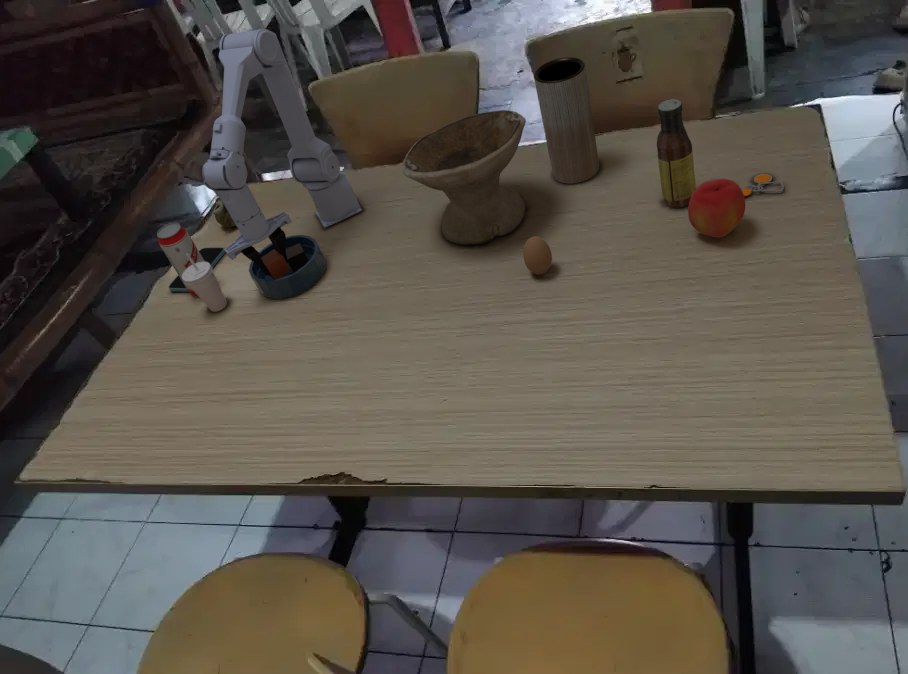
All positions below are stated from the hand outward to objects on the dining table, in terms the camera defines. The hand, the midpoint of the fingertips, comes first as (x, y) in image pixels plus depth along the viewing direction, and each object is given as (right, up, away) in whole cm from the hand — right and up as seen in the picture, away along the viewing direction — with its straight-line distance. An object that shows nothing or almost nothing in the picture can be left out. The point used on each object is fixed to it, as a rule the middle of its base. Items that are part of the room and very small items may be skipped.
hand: (276, 267), depth 154 cm
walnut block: (+4, +1, +5) cm, 7 cm away
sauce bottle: (+81, +11, -12) cm, 83 cm away
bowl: (+44, +10, +1) cm, 45 cm away
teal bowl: (+3, -1, +4) cm, 5 cm away
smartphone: (-22, +1, +16) cm, 27 cm away
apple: (+85, +3, -21) cm, 88 cm away
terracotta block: (0, -1, +1) cm, 1 cm away
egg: (+54, -3, -16) cm, 56 cm away
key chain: (+93, +13, -15) cm, 95 cm away
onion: (-17, +15, +27) cm, 35 cm away
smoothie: (-13, -8, +4) cm, 16 cm away
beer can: (-19, -3, +10) cm, 21 cm away
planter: (+64, +21, +4) cm, 67 cm away
